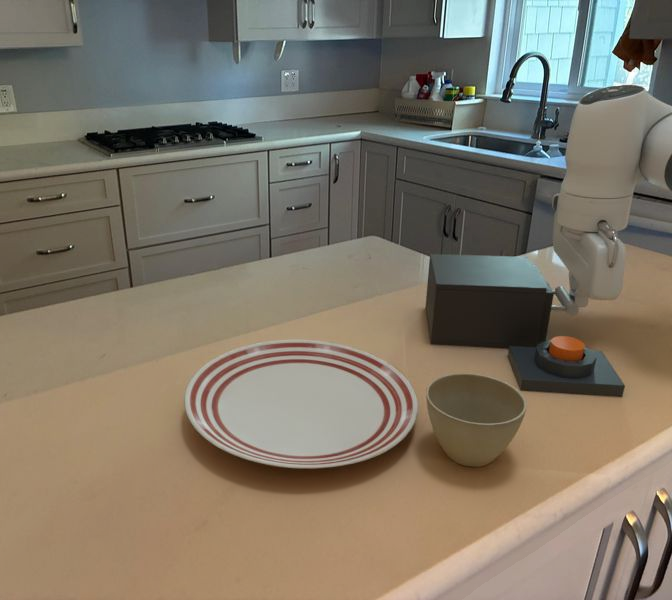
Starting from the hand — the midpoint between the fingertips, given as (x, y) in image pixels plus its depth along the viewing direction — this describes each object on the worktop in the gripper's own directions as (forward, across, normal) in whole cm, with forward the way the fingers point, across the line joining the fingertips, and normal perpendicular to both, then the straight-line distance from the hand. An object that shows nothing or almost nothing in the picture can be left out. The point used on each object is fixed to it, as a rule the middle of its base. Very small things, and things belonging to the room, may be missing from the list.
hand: (577, 303), depth 90 cm
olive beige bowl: (+4, -31, +19) cm, 37 cm away
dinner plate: (+4, -26, +38) cm, 46 cm away
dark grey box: (+4, 0, +14) cm, 15 cm away
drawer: (+4, 0, +10) cm, 11 cm away
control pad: (+5, -13, +5) cm, 15 cm away
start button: (+2, -13, +5) cm, 14 cm away
